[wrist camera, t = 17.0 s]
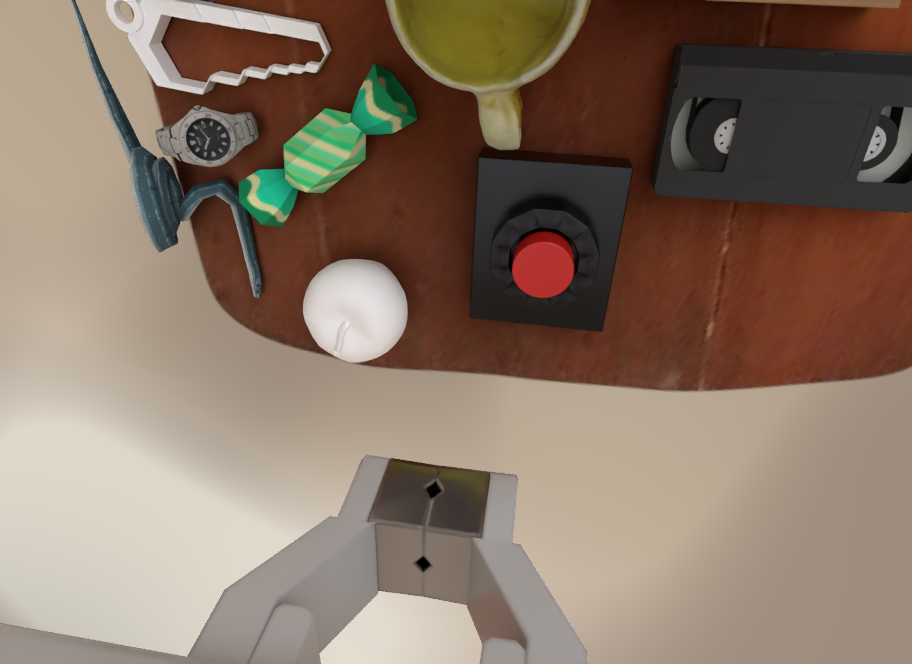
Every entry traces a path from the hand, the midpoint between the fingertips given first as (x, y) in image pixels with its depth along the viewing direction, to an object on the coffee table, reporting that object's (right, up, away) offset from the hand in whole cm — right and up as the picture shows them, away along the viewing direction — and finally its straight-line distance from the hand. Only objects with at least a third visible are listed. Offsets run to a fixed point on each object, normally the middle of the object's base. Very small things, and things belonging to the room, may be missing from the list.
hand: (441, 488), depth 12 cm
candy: (-8, +15, +27) cm, 31 cm away
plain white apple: (-6, +6, +32) cm, 33 cm away
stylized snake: (-21, +13, +26) cm, 35 cm away
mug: (+3, +21, +22) cm, 30 cm away
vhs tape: (+19, +15, +22) cm, 33 cm away
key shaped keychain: (-14, +19, +23) cm, 33 cm away
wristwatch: (-15, +17, +27) cm, 35 cm away
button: (+6, +7, +25) cm, 26 cm away
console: (+6, +9, +28) cm, 30 cm away
